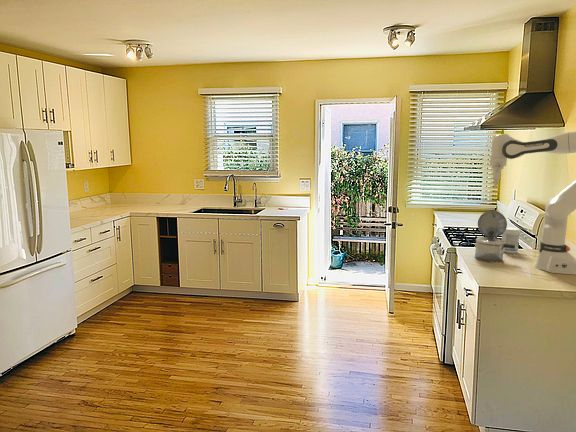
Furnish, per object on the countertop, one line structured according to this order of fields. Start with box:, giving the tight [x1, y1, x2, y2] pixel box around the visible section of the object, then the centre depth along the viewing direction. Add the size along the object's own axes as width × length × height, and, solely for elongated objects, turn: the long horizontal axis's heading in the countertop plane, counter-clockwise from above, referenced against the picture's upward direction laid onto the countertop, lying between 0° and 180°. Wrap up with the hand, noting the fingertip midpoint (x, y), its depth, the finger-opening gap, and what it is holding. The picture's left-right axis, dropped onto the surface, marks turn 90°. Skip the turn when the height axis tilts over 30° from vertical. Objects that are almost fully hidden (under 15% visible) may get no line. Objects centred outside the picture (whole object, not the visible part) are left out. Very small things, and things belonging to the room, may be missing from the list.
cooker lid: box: [477, 210, 508, 238], centre depth 278 cm, size 16×16×3 cm
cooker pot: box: [474, 236, 515, 263], centre depth 269 cm, size 21×16×11 cm
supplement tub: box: [501, 226, 520, 254], centre depth 288 cm, size 10×10×15 cm
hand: (495, 186), depth 270 cm, fingers open, 8 cm apart
